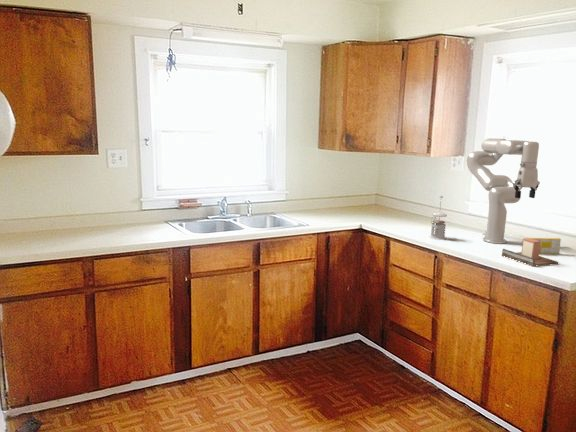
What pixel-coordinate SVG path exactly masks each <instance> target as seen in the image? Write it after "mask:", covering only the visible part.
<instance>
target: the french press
mask: <svg viewBox="0 0 576 432" xmlns="http://www.w3.org/2000/svg"><path fill="white" fill-rule="evenodd" d="M439 198H440V199H442V198H444V196H443V195H439ZM439 205H440V206H439V207H440V208H439V209H441V207H442V206H441V205H442V202H440V204H439ZM446 217H448V216H447V214H446V213H444V212H443V211H437V212H434V213H432V217H431V221H430V223H431V231H430V232H431V233H430V236H428V238H429V239H432V240H437V241H444V240H447V237H446V236H445V235H446V221H445V220H440V218H446ZM436 218H438V219H437V220H435V219H436Z"/></svg>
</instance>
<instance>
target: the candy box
mask: <svg viewBox="0 0 576 432" xmlns="http://www.w3.org/2000/svg"><path fill="white" fill-rule="evenodd" d="M529 238H530V239H534V240H538V241H541V243H540V251H539V255H543V254H544V255H545V254H546V255H560V252H561V251H560V249H561V242H562V239H561V238H557V237H556V238H555V237H529Z"/></svg>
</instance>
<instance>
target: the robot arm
mask: <svg viewBox="0 0 576 432" xmlns="http://www.w3.org/2000/svg"><path fill="white" fill-rule="evenodd" d="M539 149H540V144H539V142H538V141H530V140H529V141H528V140H517V139H516V140H513V139H511V140H510V139H509V140H508V139H505V138H490V137H489V138H485V139H484V140H483V141H482V142H481V150H477V151H476V150H474V151H472V152H470V153H468V154H467V156H466V166H467V168H468V170H469V171H470V173H471V174H472V176H474V177H475V178H476V180H477V181H478V182H479V184H480V185H481V186H482V187H483V189H485V191H487V192H488V215H487V225H486V231H484V232H482V235H483V236H484V237H483V238H482V240H483V242H487V243H491V244H501V245H502V244H506V243H507V239H505V232H506V223H507V222H506V221H507V214H508V212H507V208H506V206H505V204H516V203H518V202H519V201H520V200H521V197H522V191H521V190H522V189H523V188H529V189H530V190H529V193H528V194H529V195H528V197H529V198H532V199H535V197H536V191H537V189H538V188H539V186H540V183H541V182H540V181H539V177H538V175H539V174H538V172H539V171H538V168H537V165H538V156H539ZM503 155H515V156H516V155H518V156H520V155H521V158H520V159H521V160H520V163H519V169H518V173H517V176H516V177H517V178H516V180H514V181H513V180H512V179H511V178H510V177H509V176H507V175H503V174H494V173H493V172H492V171H491V170H490V169H489V168H488V167H486V166H493V165H496V163H498V162H499V160H500V159H501V158H502V157H503Z"/></svg>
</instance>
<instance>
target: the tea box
mask: <svg viewBox="0 0 576 432" xmlns="http://www.w3.org/2000/svg"><path fill="white" fill-rule="evenodd" d="M530 238H531V237H526V238H523V239H522V246H521V252H522V253H521V255H524V256H527V257H531V258H534V259H538V258H539V256H540V254H539V251H540V243H541V241H538V240H534V239H530Z"/></svg>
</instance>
